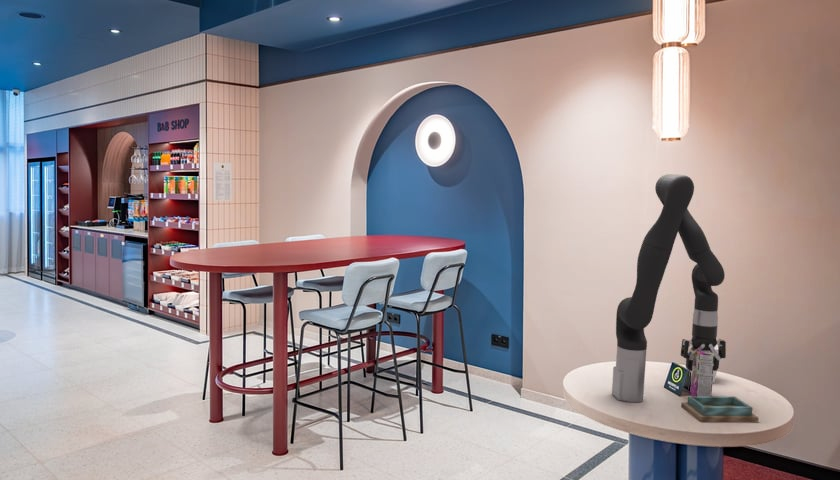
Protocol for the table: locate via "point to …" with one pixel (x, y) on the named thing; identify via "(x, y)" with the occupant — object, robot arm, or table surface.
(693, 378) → the candy bar box
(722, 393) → the table surface
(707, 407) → the display base
